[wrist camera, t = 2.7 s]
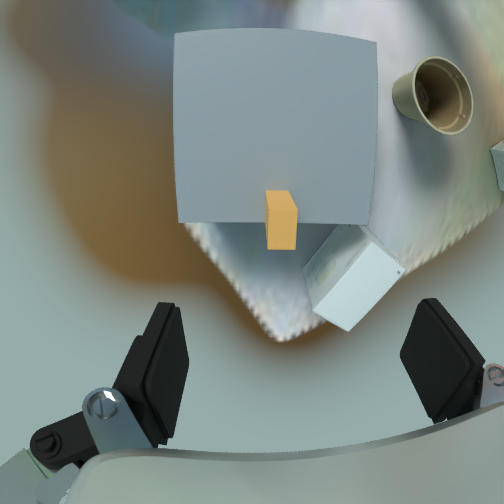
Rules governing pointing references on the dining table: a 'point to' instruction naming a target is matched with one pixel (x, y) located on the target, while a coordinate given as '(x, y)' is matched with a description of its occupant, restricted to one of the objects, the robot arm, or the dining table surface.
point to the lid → (274, 128)
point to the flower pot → (435, 95)
